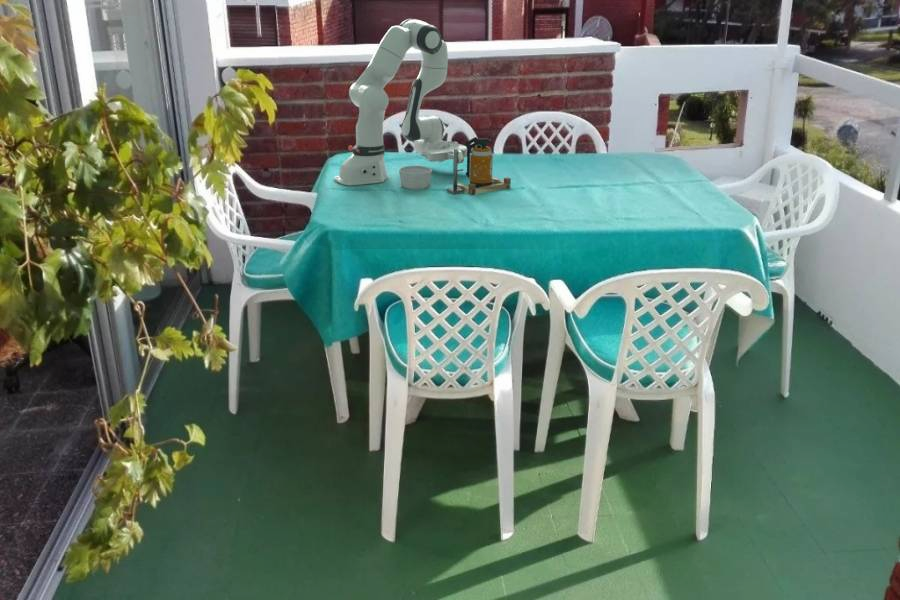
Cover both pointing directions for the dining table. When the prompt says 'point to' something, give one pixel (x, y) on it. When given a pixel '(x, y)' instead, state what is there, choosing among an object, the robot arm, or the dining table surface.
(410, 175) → the ramekin
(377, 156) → the robot arm
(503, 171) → the dining table surface
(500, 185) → the cradle
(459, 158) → the mirror on stand
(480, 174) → the canister
